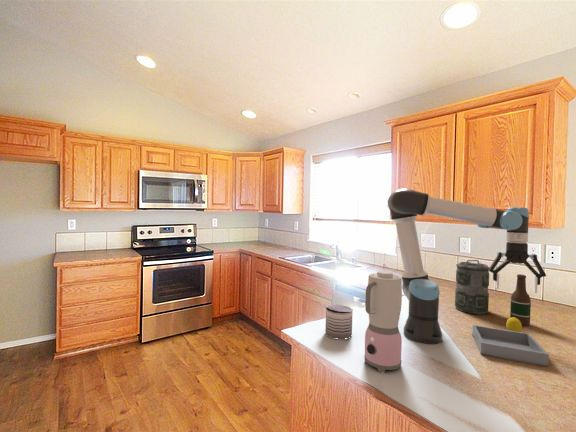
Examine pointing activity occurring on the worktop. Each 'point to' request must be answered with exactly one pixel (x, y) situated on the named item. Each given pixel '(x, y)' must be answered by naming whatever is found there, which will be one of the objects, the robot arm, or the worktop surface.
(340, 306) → the can
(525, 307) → the beer bottle
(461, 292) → the canister
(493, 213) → the robot arm
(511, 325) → the lemon
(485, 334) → the box
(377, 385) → the worktop surface
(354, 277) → the worktop surface
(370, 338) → the blender
